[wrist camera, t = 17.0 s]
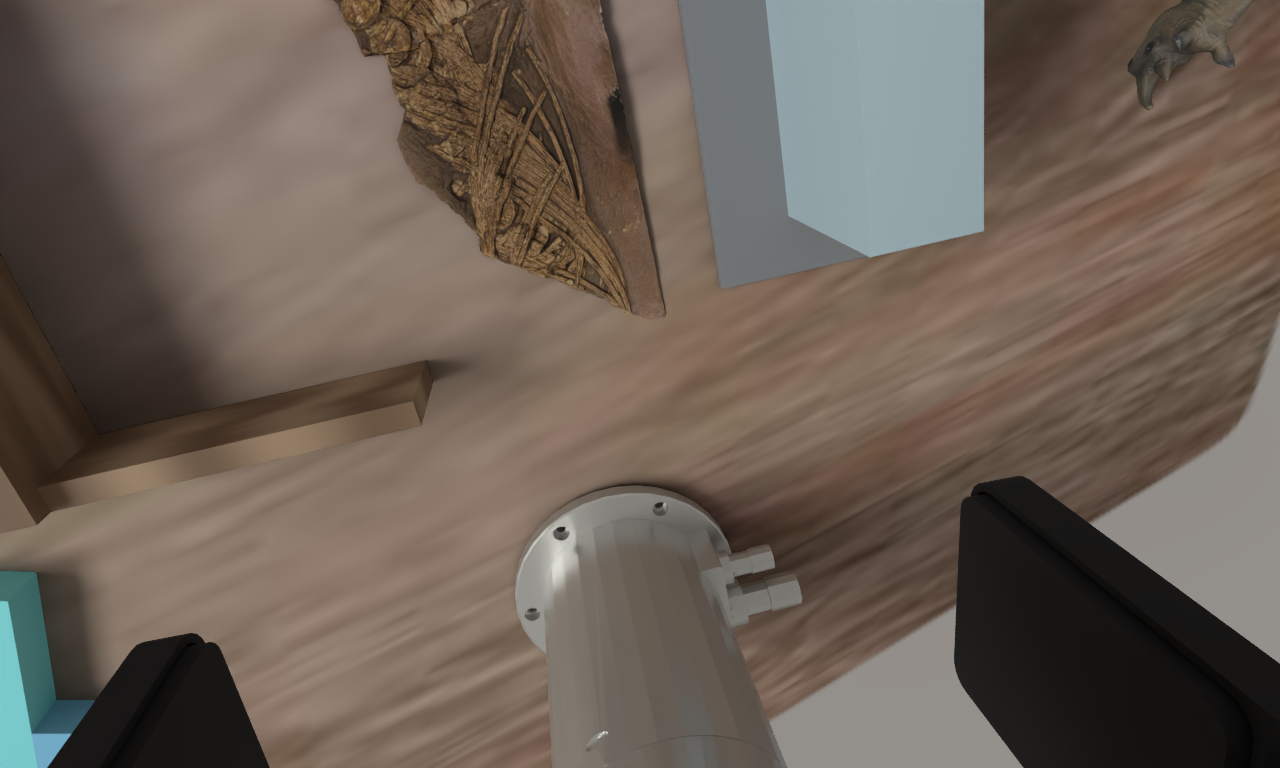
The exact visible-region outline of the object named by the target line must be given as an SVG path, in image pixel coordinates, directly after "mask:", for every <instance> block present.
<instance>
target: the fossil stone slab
mask: <svg viewBox="0 0 1280 768" xmlns="http://www.w3.org/2000/svg"><path fill="white" fill-rule="evenodd" d="M335 2H336V3H337V4H338V5H339V11H340V12H341V13H342V14H344V21H345V22H346V23H347V25H348V26H349V27H350V28H351V30H352V31H353V33H354V34H355V36H356V38H357V41H358V44H359V46H360V49H361V52H362V54H363V55H364V57H366V56H372V55H381V54H382V55H385V57H386V59H387V63H388V68H389V71H390V73H391V75H392V87H393V90H394V92H395V94H396V97H397V98H398V99H399V102H400V105H401V106H402V107H403V108H404V109H405V110H406V111H405V114H404V119H403V123H402V126H401V129H400V132H399V135H398V139H397V140H398V144H399V147H400V149H401V152H402V154H403V156H404V159H405V161H406V163H407V165H408V166H409V168H410V169H411V171H412V173H413V175H414V177H415V179H416V181H417V183H420V184H423V185H424V186H426V187H427V188H429V189H431V190H433V191H434V192H435V193H436V195H437V196H438V197H439V198H440V200H442V201H443V202H445V203H447V204H448V205H449V206H450V207H451V208H452V209H453V210H454V211H455V213H458V214H460V215H461V216H462V217H464V219H465V222H466V223H467V224H468V226H470V227H471V228H472V229H473V230H474V231H475V232H476V234H477V235H478V236H479V237H480V250H481V252H482V253H483V255H485V256H488V257H491V258H496V259H499V260H500V261H502V262H504V263H507V264H513V265H516V266H519V267H521V268H523V269H525V270H527V271H528V272H530V273H531V274H534V275H537V276H541V277H544V278H549V277H552V278H555V279H557V280H559V281H560V282H562V283H564V284H566V285H568V286H569V287H571V288H575V289H577V290H580V291H584V292H586V293H591V294H594V295H596V296H598V297H600V298H605V299H608V301H609V302H610V303H611V304H612V305H613V306H615V307H617V308H619V309H621V310H623V311H624V313H627V314H629V315H637V316H641V317H645V318H649V319H653V318H658V317H665V311H664V305H663V301H662V296H661V291H660V287H659V281H658V278H657V277H658V276H657V271H656V267H655V261H654V256H653V252H652V247H651V242H650V238H649V233H648V227H647V224H646V220H645V215H644V209H643V204H642V200H641V195H640V190H639V185H638V180H637V176H636V170H635V165H634V159H633V154H632V148H631V144H630V141H629V135H628V132H627V129H626V122H625V116H624V112H623V105H622V102H621V96H620V90H619V86H618V83H617V78H616V72H615V69H614V63H613V60H612V55H611V51H610V45H609V40H608V37H607V34H606V32H605V30H604V24H603V22H602V19H603V17H602V16H601V15H600V14H599V13H601V12H602V9H601V5H600V0H335Z"/></svg>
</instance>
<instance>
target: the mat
mask: <svg viewBox="0 0 1280 768" xmlns="http://www.w3.org/2000/svg"><path fill="white" fill-rule="evenodd" d="M678 3H679V10H680V17H681V24H682V31H683V38H684V45H685V52H686V59H687V66H688V72H689V79H690V86H691V93H692V100H693V107H694V114H695V121H696V128H697V134H698V141H699V148H700V155H701V162H702V169H703V176H704V183H705V190H706V197H707V203H708V210H709V217H710V224H711V231H712V238H713V245H714V252H715V259H716V266H717V272H718V279H719V286H720V287H721V288H722V289H726V288H730V287H734V286H739V285H743V284H748V283H752V282H757V281H761V280H765V279H770V278H774V277H779V276H783V275H787V274H792V273H796V272H801V271H805V270H810V269H814V268H818V267H823V266H827V265H832V264H836V263H840V262H845V261H849V260H854V259H858V258H863V257H867V256H866V255H864V254H862V253H860V252H859V251H857V250H855V249H853V248H851V247H849V246H847V245H845V244H843V243H841V242H839V241H837V240H835V239H833V238H831V237H829V236H827V235H825V234H823V233H821V232H819V231H817V230H815V229H813V228H811V227H809V226H807V225H805V224H803V223H801V222H799V221H797V220H795V219H793V218H792V217H790V216H788V207H787V197H786V188H785V179H784V169H783V160H782V150H781V141H780V132H779V122H778V113H777V103H776V94H775V85H774V75H773V66H772V56H771V47H770V38H769V28H768V19H767V9H766V0H678Z"/></svg>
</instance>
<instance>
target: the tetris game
mask: <svg viewBox="0 0 1280 768" xmlns="http://www.w3.org/2000/svg"><path fill="white" fill-rule="evenodd" d="M94 702H95V700H56V693H55V687H54V681H53V674H52V668H51V662H50V655H49V649H48V643H47V636H46V630H45V624H44V617H43V611H42V605H41V598H40V592H39V586H38V579H37V573H36V572H22V571H0V768H47V767H48V766H49V764H50V763H51V762H52V760H53V759H54V757H55V756H56V755H57V753H58V752H59V750H60V749H61V748H62V746H63V745H64V743H65V742H66V741H67V739H68V738H69V736H70V735H71V734H72V732H73V731H74V730H75V728H76V727H77V725H78V724H79V723H80V721H81V720H82V718H83V717H84V716H85V714H86V713H87V711H88V710H89V709H90V707H91V706H92V705H93V703H94Z"/></svg>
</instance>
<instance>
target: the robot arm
mask: <svg viewBox="0 0 1280 768" xmlns="http://www.w3.org/2000/svg"><path fill="white" fill-rule="evenodd" d="M659 502H660V503H659ZM657 503H659V504H657ZM559 527H562V528H559ZM774 568H775V562H774V557H773V554H772V551H771V548H770V546H769V545H768V544H764V545H760V546H756V547H752V548H748V549H746V550H745V551H741V552H737V553H733V554H732V553H731V550H730V547H729V544H728V542H727V540H726V538H725V536H724V534H723V532H722V530H721V528H720V526H719V525H718V524H717V522H716V521H715V520H714V519H713V518H712V516H711V515H710V514H709V513H708V512H707V511H706V510H704V509H703V508H702V507H701V506H699V505H698V504H697V503H696V502H694V501H692V500H690V499H688V498H686V497H684V496H682V495H680V494H678V493H676V492H672V491H669V490H665V489H661V488H658V487H649V486H638V485H634V486H620V487H612V488H608V489H604V490H600V491H596V492H592V493H590V494H587V495H585V496H583V497H580V498H578V499H576V500H573V501H572V502H570V503H568V504H567V505H565V506H564V507H562V508H561V509H559V510H558V511H556V512H555V513H553V514H552V515H551V516H550V517H549V518H548V519H547V520H546V521H545V522H544V523H543V524H542V525H540V526H539V528H538V529H537V530H536V532H535V533H534V534H533V536H532V537H531V538H530V540H529V541H528V543H527V545H526V547H525V549H524V551H523V553H522V555H521V558H520V560H519V564H518V568H517V573H516V577H515V599H516V607H517V613H518V616H519V618H520V621H521V624H522V626H523V629H524V630H525V632H526V633H527V635H528V636H529V638H530V639H531V640H532V642H533V643H534V644H535V645H536V646H537V647H538V648H539V649H540V650H541V651H542V652H543V653H544V654H546V657H547V676H548V695H549V714H550V733H551V751H552V768H787V766H786V763H785V761H784V758H783V756H782V753H781V751H780V748H779V746H778V743H777V741H776V738H775V735H774V733H773V730H772V728H771V725H770V723H769V720H768V718H767V715H766V713H765V710H764V707H763V705H762V702H761V700H760V697H759V695H758V692H757V690H756V687H755V685H754V682H753V679H752V677H751V674H750V672H749V669H748V667H747V664H746V662H745V659H744V657H743V654H742V652H741V649H740V646H739V644H738V641H737V639H736V636H735V634H734V630H733V627H736V626H739V625H743V624H747V623H748V621H749V619H748V615H752V614H756V613H760V612H764V611H768V610H770V611H771V612H772V611H776V610H780V609H784V608H788V607H792V606H796V605H799V604H801V603H802V595H801V590H800V586H799V583H798V580H797V578H796V576H795V574H794V572H793V571H792V570H789V571H785V572H782V573H778V574H774V575H770V576H766V577H762V578H761V579H760V580H756V581H752V582H749V583H745V584H741V585H739V583H738V580H737V579H736V578H735V577H737V576H741V575H745V574H749V573H752V574H754V573H758V572H762V571H766V570H770V569H774ZM954 663H955V668H956V672H957V675H958V678H959V680H960V683H961V685H962V686H963V688H964V689H965V691H966V692H967V694H968V695H969V696H970V698H971V699H972V700H973V702H974V703H975V704H976V705H977V707H978V708H979V709H980V711H981V712H982V713H983V715H984V716H985V717H986V719H987V720H988V721H989V723H990V724H991V725H992V727H993V728H994V729H995V731H996V732H997V733H998V735H999V736H1000V737H1001V738H1002V740H1003V741H1004V742H1005V744H1006V745H1007V746H1008V748H1009V749H1010V750H1011V752H1012V753H1013V754H1014V755H1015V757H1016V758H1017V759H1018V761H1019V762H1020V764H1021V765H1022V766H1023V767H1024V768H1280V664H1279V663H1278V662H1277V661H1275V660H1274V659H1272V658H1271V657H1270V656H1269V655H1267V654H1266V653H1264V652H1263V651H1262V650H1260V649H1259V648H1258V647H1256V646H1255V645H1254V644H1252V643H1251V642H1250V641H1248V640H1247V639H1245V638H1244V637H1243V636H1241V635H1240V634H1239V633H1237V632H1236V631H1235V630H1233V629H1232V628H1231V627H1229V626H1228V625H1226V624H1225V623H1224V622H1222V621H1221V620H1219V619H1218V618H1217V617H1216V616H1214V615H1213V614H1211V613H1210V612H1209V611H1207V610H1206V609H1205V608H1203V607H1202V606H1201V605H1199V604H1198V603H1197V602H1195V601H1194V600H1192V599H1191V598H1190V597H1188V596H1187V595H1186V594H1184V593H1183V592H1182V591H1180V590H1179V589H1178V588H1176V587H1175V586H1173V585H1172V584H1171V583H1169V582H1168V581H1167V580H1165V579H1164V578H1163V577H1161V576H1160V575H1158V574H1157V573H1156V572H1154V571H1153V570H1152V569H1150V568H1149V567H1148V566H1146V565H1145V564H1143V563H1142V562H1141V561H1139V560H1138V559H1137V558H1135V557H1134V556H1132V555H1131V554H1130V553H1129V552H1127V551H1126V550H1124V549H1123V548H1122V547H1120V546H1119V545H1118V544H1116V543H1115V542H1114V541H1112V540H1111V539H1110V538H1108V537H1107V536H1105V535H1104V534H1103V533H1101V532H1100V531H1099V530H1097V529H1096V528H1095V527H1093V526H1092V525H1091V524H1089V523H1088V522H1086V521H1085V520H1084V519H1082V518H1081V517H1080V516H1078V515H1077V514H1076V513H1074V512H1073V511H1072V510H1070V509H1069V508H1067V507H1066V506H1065V505H1063V504H1062V503H1061V502H1059V501H1058V500H1057V499H1055V498H1054V497H1052V496H1051V495H1050V494H1048V493H1047V492H1046V491H1044V490H1043V489H1042V488H1040V487H1039V486H1038V485H1036V484H1035V483H1033V482H1032V481H1031V480H1029V479H1027V478H1025V477H1023V476H1016V477H1010V478H1005V479H1000V480H994V481H989V482H984V483H979V484H977V485H976V486H974V488H973V490H972V492H971V497H967V498H965V499H964V500H963V502H962V504H961V514H960V537H959V560H958V582H957V605H956V628H955V650H954ZM47 768H269V765H268V763H267V760H266V758H265V755H264V753H263V751H262V748H261V746H260V743H259V741H258V739H257V736H256V734H255V731H254V729H253V727H252V724H251V722H250V719H249V717H248V714H247V712H246V710H245V707H244V705H243V702H242V700H241V698H240V695H239V693H238V690H237V688H236V686H235V683H234V681H233V678H232V676H231V673H230V671H229V669H228V666H227V664H226V661H225V659H224V657H223V654H222V652H221V650H220V648H219V647H218V646H217V645H216V644H215V643H212V642H208V643H205V642H204V640H203V639H202V638H201V637H200V636H199V635H198V634H194V633H189V634H184V635H178V636H173V637H168V638H162V639H157V640H152V641H147V642H143V643H140V644H138V645H136V646H135V647H134V648H133V649H132V650H131V652H130V653H129V654H128V656H127V657H126V659H125V660H124V661H123V663H122V664H121V666H120V667H119V668H118V670H117V671H116V673H115V674H114V675H113V677H112V678H111V679H110V681H109V682H108V684H107V685H106V686H105V688H104V689H103V691H102V692H101V693H100V695H99V696H98V698H97V699H96V700H95V702H94V703H93V705H92V706H91V707H90V709H89V710H88V711H87V713H86V714H85V716H84V717H83V718H82V720H81V721H80V723H79V724H78V725H77V727H76V728H75V730H74V731H73V732H72V734H71V735H70V736H69V738H68V739H67V741H66V742H65V743H64V745H63V746H62V748H61V749H60V750H59V752H58V753H57V755H56V756H55V757H54V759H53V760H52V762H51V763H50V764H49V766H48V767H47Z"/></svg>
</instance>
